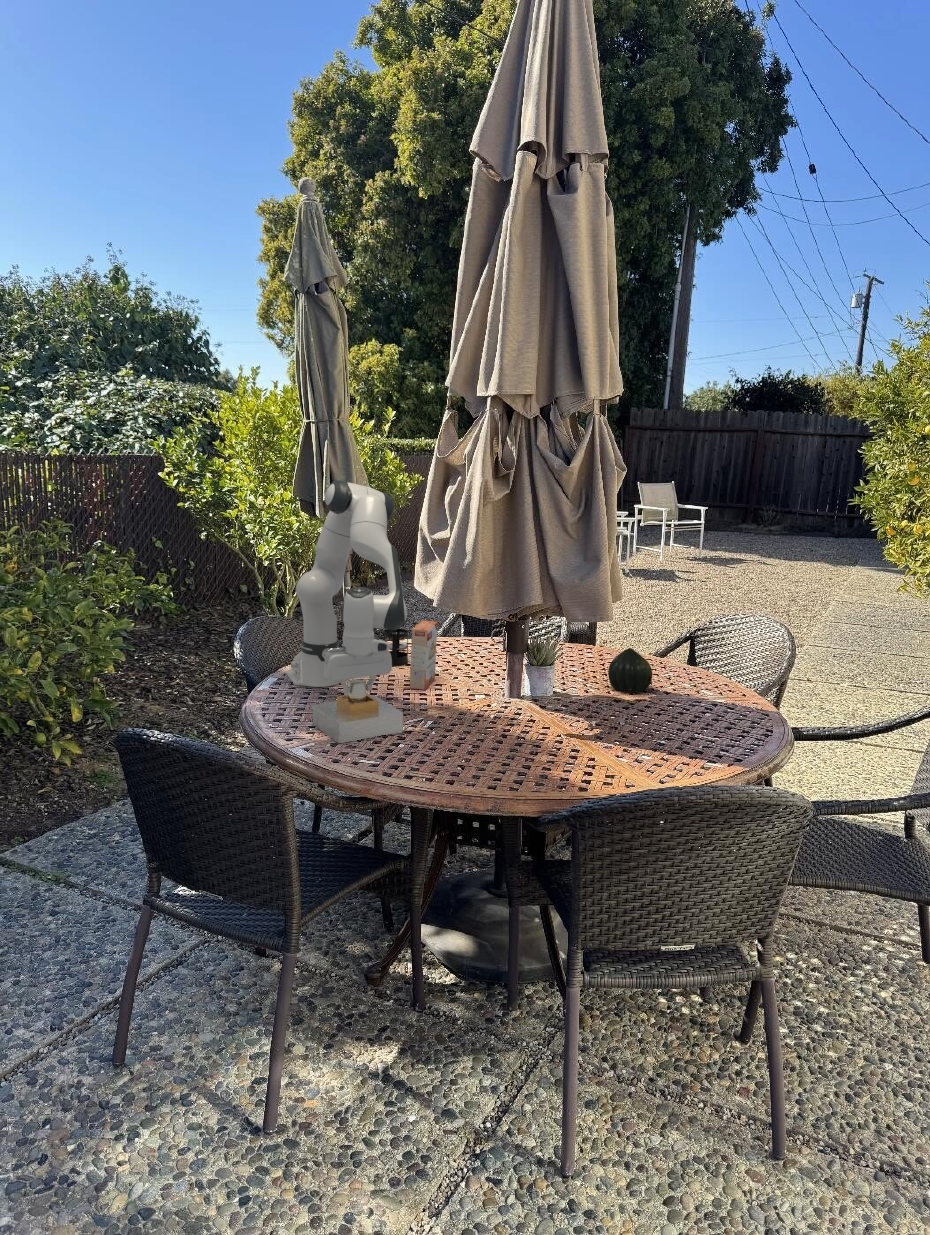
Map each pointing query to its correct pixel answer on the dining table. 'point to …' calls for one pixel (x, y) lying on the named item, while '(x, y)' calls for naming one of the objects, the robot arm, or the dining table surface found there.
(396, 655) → the french press
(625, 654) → the squash
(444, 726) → the dining table surface
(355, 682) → the clear glass cup
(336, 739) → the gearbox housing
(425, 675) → the cracker box
